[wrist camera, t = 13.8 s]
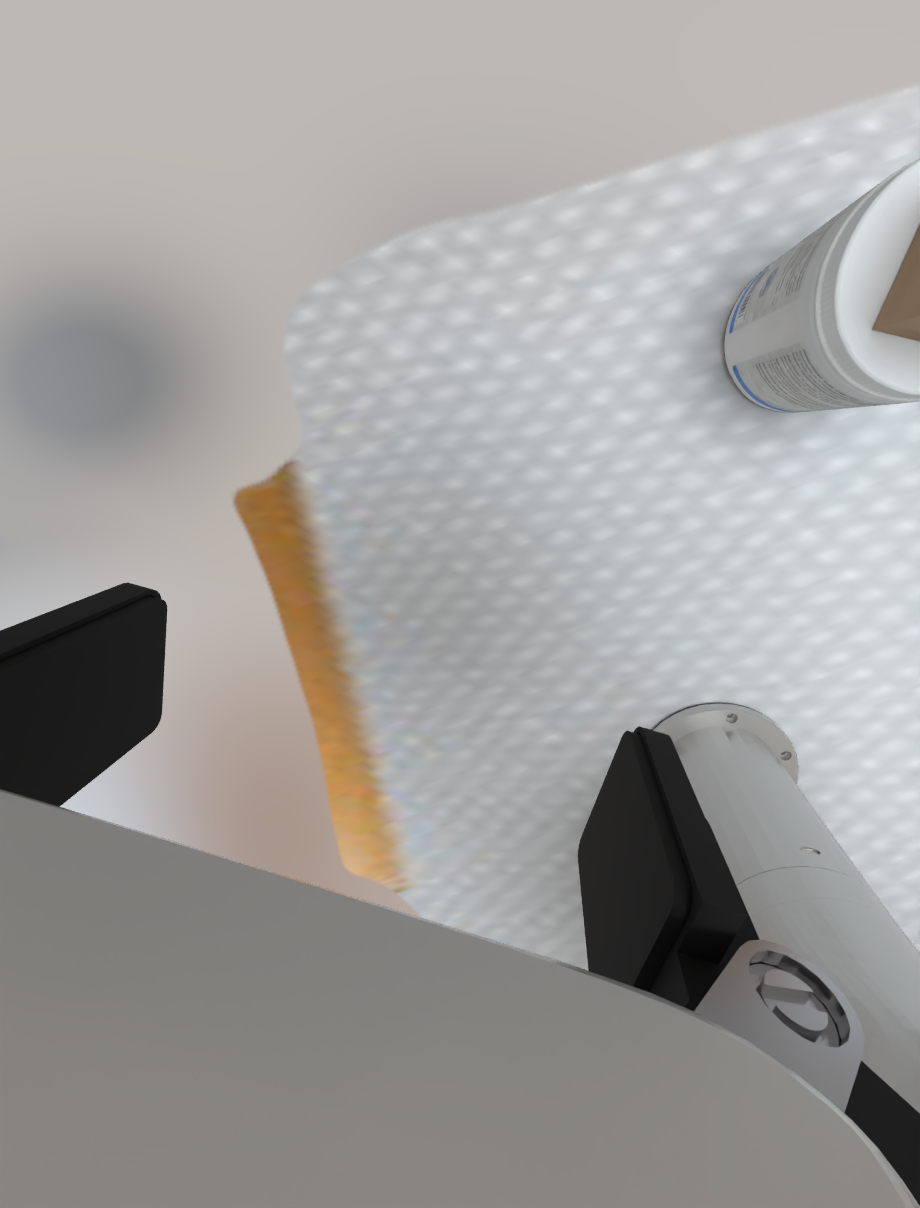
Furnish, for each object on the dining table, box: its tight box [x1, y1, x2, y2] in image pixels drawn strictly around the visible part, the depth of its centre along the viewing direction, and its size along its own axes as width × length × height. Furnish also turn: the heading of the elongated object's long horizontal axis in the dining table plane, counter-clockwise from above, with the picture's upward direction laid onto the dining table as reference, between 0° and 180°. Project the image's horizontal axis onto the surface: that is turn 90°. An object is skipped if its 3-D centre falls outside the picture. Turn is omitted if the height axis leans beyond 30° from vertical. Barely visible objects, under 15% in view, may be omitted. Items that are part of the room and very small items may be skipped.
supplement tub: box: [724, 159, 920, 412], centre depth 28 cm, size 10×10×15 cm
